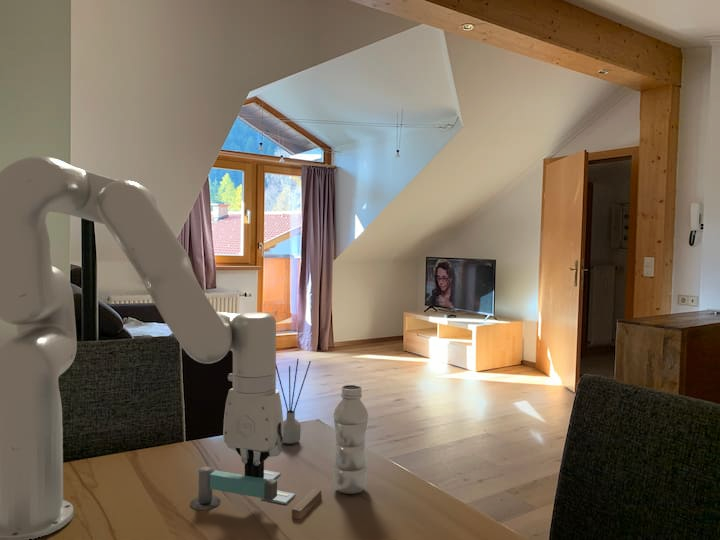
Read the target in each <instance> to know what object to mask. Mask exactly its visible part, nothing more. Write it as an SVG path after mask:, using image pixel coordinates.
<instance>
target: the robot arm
mask: <svg viewBox="0 0 720 540" xmlns="http://www.w3.org/2000/svg"><path fill="white" fill-rule="evenodd" d="M49 212H54V213H60V214H63V215H67V216H73V217H77V218H79V219H83V220H87V221H91V222H95V223H98V224H102V225H104V226H105V227H106V229H107V230H108V232H109V233H110V235H111V236H112V237H113V239H114V241H115V242H116V243H117V244H118V246H119V248H120V249H121V251H122V252H123V254H124V255H125V256H126V258H127V259H128V261H129V263H130V264H131V265H132V267H133V268H134V270H135V271H136V273H137V275H138V276H139V278H140V279H141V281H142V283H143V285H144V288H145V290H146V291H147V293H148V295H149V296H150V298H151V300H152V301H153V303H154V306H156V309H157V310H158V312H159V314H160V317H162V319H163V321H164V322H165V325H167V327H168V328H169V330H170V331H171V333H172V334H173V335H174V338H175V339H176V340H177V341H178V343H179V345H180V346H181V347H182V349H183V350H184V352H185V353H186V354H187V355H188V356H189V357H190V358H191V359H193V360H194V361H196V362H198V363H201V364H205V365H207V364H213V363H218V362H219V361H221V360H222V359H223V358H224V357H226V356H227V355H228V352H230V351H231V352H232V372H231V373H228V375H227V379H228V380H227V381H230V382H232V388H230V389H228V393H227V396H226V400H225V406H224V407H225V408H224V415H223V416H224V417H223V428H222V430H223V432H222V434H223V435H222V437H223V442H224V443H225V445H226V446H227V448H229V449H230V450H233V451H236V452H237V454H238V455H239V457H241V463H242V464H244V475H246V476H252V477H257V478H264V470H265V461H267V459H268V458H269V457H270V458H271V457H278V456H280V455H281V454H282V453H283V447H282V444H283V442H282V441H283V421H284V414H283V405H282V400H281V395H280V392H279V389H277V388H276V387H277V370H276V365H277V320H276V319H275V318H276V317H275V316H273V314H270V313H268V312H258V311H257V312H253V311H252V312H244V313H233V312H231V313H230V312H224V311H223V312H222V311H216V309H215V308H214V306H213V305H212V303H211V302H210V300H209V299H208V297H207V295H206V294H205V292H204V291H203V289H202V287H201V284H200V283H199V281H198V279H197V276H196V275H195V272H194V269H193V266H192V262H191V259H190V257H189V255H188V252H187V251H186V250H185V248H184V246H183V245H182V243H181V242H180V240H179V239H178V237H177V236H176V234H175V233H174V232H173V230H172V229H171V227H170V226H169V224H168V222H167V221H166V218H165V217H164V216H163V215H162V213H161V211H160V209H158V204H157V199H156V198H155V196H154V194H153V193H152V192H151V191H150V190H149V189H148V188H146V187H145V186H144V185H141V184H140V183H138V182H136V181H132V180H128V179H115V178H112V177H108V176H105V175H101V174H99V173H98V174H97V173H95V172H92V171H89V170H87V169H83V168H80V167H77V166H73V165H71V164H69V163H67V162H65V161H63V160H60V159H58V158H56V157H51V156H46V155H34V156H27V157H24V158H21V159H18V160H16V161H14V162H12V163H10V164H8V165H7V166H6V167H4V168H3V169H1V170H0V320H1V321H3V322H4V323H7V324H9V325H14V326H16V334H15V335H13V336H11V337H9V338H8V339H6V340H4V341H3V342H2V343H1V344H0V540H29V539H32V540H35V538H36V539H39V538H38V537H40V538H43V537H46V536H48V535H50V534H52V533H54V532H57V531H59V530H60V529H62V528H63V527H65V526H67V525H68V524H69V522H71V520H72V518H73V517H74V505H73V504H72V503H71V502H69V501H67V500H66V499H64V449H63V446H64V445H63V443H64V442H63V441H64V440H63V439H64V438H63V436H64V435H63V434H64V433H63V431H64V430H63V406H62V398H61V393H60V386H59V378H60V376H61V375H62V374H64V373H65V372H66V371H67V370H68V369H69V368H70V366H71V365H72V364H73V363H74V361H75V359H76V354H77V349H78V348H77V347H78V346H77V345H78V343H77V341H78V340H77V326H76V325H77V324H76V314H75V313H76V312H75V301H74V291H73V288H72V285H71V282H70V280H69V278H68V277H67V275H66V274H65V272H63V271H62V270H61V269H59V268H57V267H55V266H53V265H52V261H51V259H52V258H51V243H50V242H51V241H50V235H49V232H48V228H47V222H46V220H47V216H48V213H49ZM45 535H46V536H45ZM42 536H43V537H42Z"/></svg>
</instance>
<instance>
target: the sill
mask: <svg viewBox="0 0 720 540" xmlns="http://www.w3.org/2000/svg"><path fill="white" fill-rule="evenodd" d="M321 499H322V489H318V488H312V489H311V490H310V491H309V492H308V493H307V494H306V495H305V496H304V497H303V498H302V499H301V500H300V501H299V502H297V504H296V505H295V506H293V508H292V509H291V518H292V519H296V520H301V519H303V517H305V515H306V514H307V513H308V512H309V511H311V509H313V507H315V505H316V504H317V503H318V502H319V501H320V500H321Z"/></svg>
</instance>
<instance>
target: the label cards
mask: <svg viewBox="0 0 720 540" xmlns="http://www.w3.org/2000/svg"><path fill="white" fill-rule="evenodd" d="M280 476H281V472H278V471H271V470H268V469H264V478H263V479H274V480H277V478H278V477H280ZM295 496H296V493H293V492H288V491H282V490H279V489H277V496H276V497H275V498H274V499H273V500H272V501H269V500H266V501H267V502H272V503H277V504H282V505H287V504H288V503H289V502H290V501H291V500H292V499H294V498H295ZM261 500H263V501H265V500H264V499H263V498H261Z"/></svg>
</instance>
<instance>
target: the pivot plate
mask: <svg viewBox="0 0 720 540" xmlns="http://www.w3.org/2000/svg"><path fill="white" fill-rule="evenodd" d="M220 504H221V498H220V497H218V496H216V495H212V501H211V502H209V503H205V504H202V503H199V501H198V496H197V497H195V498H193V499H191V501H190V508H192V509H194V510H195V511H197V510H198V511H207V510H212V509H214V508H217V507H218V506H219V505H220Z"/></svg>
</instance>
